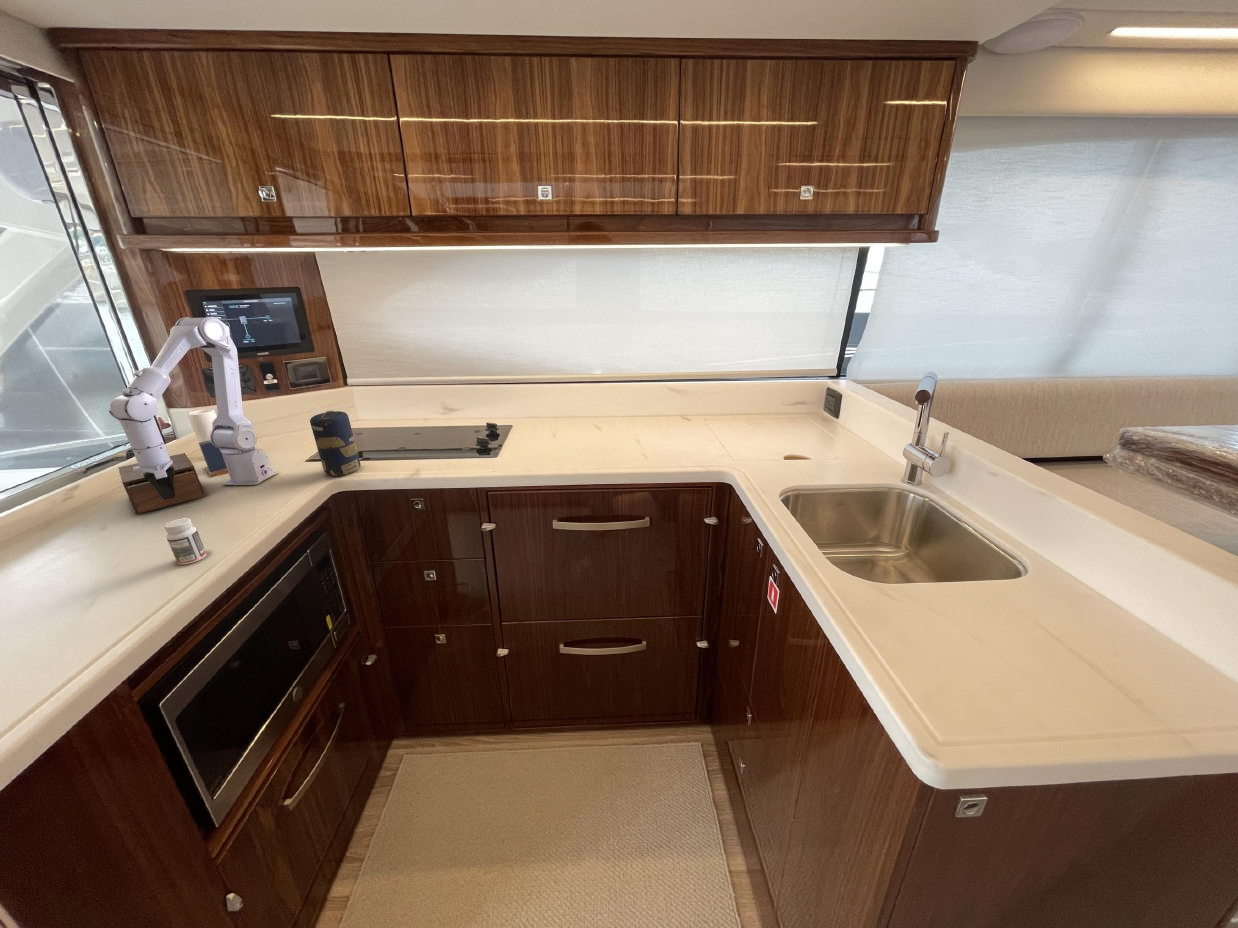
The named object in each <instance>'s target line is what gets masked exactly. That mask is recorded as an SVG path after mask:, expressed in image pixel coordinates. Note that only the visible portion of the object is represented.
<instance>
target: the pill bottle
mask: <svg viewBox="0 0 1238 928" xmlns="http://www.w3.org/2000/svg"><path fill="white" fill-rule="evenodd" d="M163 527H164V530H165V532H166V533H167V534H166V535H165V536H166V540H167V542H168V543H167V544H168V545H169V548H170V549H171V552H172V553H173V554H172V555H173V556H174V558H175V561H176V563H177V564H178V565H183V566H185V565H190V564H194V563H197V562H198V561H200V560H202V559H204V558H205V557H206V556H207V551H206V549H205V546H204V543H203V541H202V539H201V537H200V536H201V535H200V534H199V531H198V529H197V527H195V526H194V525H193V522H192V520H191V518H188V517H183V518H177V519H174V520H170V521H168V522H167V523H165V524H164V526H163Z"/></svg>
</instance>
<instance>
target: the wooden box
mask: <svg viewBox="0 0 1238 928" xmlns="http://www.w3.org/2000/svg"><path fill="white" fill-rule="evenodd" d="M169 457H170V459H172V461H173V463H172V465H171V466H173V468H174V470H175V473H178V472H183V471H187V470H188V471H189V472H190V471H193V472H194V474H195V477H196V480H197V482H198V485H199V487H200V490H201V493H202V495H203V496H202V497H198V498H194V499H191V500H187V501H183V502H179V503H176V504H172V505H168V506H165V507H161V508H157V509H153V510H150V511H146V512H142V513H139V512H138V510H137V507H136V505H135V503H134V501H133V498H132V496H131V494H130V491H129V489H128V486H132V485H131V484H132V483H136V482H140V481H145V480H146V479H145V478H144V475H143V474H144V473H146V472H145V471H134V469H133V467H136V466H139V464H138V462H137V463H132V464H128V465H122V466H119V467H118V472H119V476H120V479H121V483H122V485H123V488H124V490H125V492H126V494H127V496H128V499H129V501H130V503H131V506H132V508H133V510H134V513H135V515H140V514H144V513H148V512H151V511H155V510H159V509H162V508H167V507H170V506H174V505H178V504H181V503H184V502H185V503H186V502H188V501H189V502H190V501H193V500H196V499H201V498H203V497H206V494H205V492H204V488H203V485H202V484H201V481H200V477H199V475H198V473H197V470H196V468H195V465H194V463H192V461H191V460H190V458H189V457H188V455H187V454H186V453H185V452H183V453H178V454H174V455H173V454H172V455H169Z"/></svg>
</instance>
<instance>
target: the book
mask: <svg viewBox="0 0 1238 928" xmlns="http://www.w3.org/2000/svg"><path fill="white" fill-rule="evenodd" d="M198 445H199V448H200V451H201V454H202V456H203V459H204V462H205V464H206V467H208V470H209V471H210V472H213V471H217V470H221V469H225V468H227V467H226V464H225V461H224V458H223V455H222V453H221V452H220V450H219V448H217V447H215V446H214V445H213V444H212V443H211V441H210V440H209V441H205V442H198Z"/></svg>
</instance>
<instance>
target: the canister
mask: <svg viewBox="0 0 1238 928" xmlns="http://www.w3.org/2000/svg"><path fill="white" fill-rule="evenodd" d="M309 423H310V428H311V431H312V434H313V437H314V442H315V445H316V449H317V453H318V456H319V459H320V462H321V466H322V470H323V472H324V474H326V475H328V476H333V477H334V476H336V477H337V476H342V475H347V474H352V473H353V472H357V470H359V469H360V468H361V460H360V457H359V453H358V448H357V444H356V441H355V440H356V438H355V435H354V433H353V429H352V425H351V421H350V418H349V415H348V414H347V413H346V412H345V411H339V410H337V411H336V410H326V411H325V412H321V413H318V414H315V415H313V416H311V418H310V419H309Z"/></svg>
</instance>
